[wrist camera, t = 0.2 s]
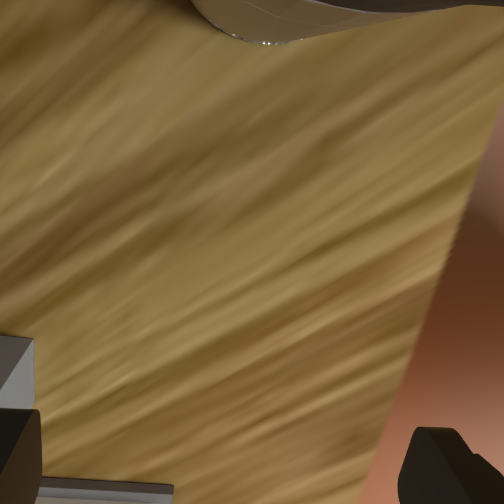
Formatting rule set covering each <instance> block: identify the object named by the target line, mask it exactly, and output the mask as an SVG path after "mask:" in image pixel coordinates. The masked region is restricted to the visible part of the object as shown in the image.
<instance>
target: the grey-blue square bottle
mask: <svg viewBox="0 0 504 504" xmlns="http://www.w3.org/2000/svg"><path fill="white" fill-rule="evenodd" d="M34 401H35V397H34V339H31V338H21V337H11V336H1V335H0V408H14V409H31V407H32V405H33V403H34Z"/></svg>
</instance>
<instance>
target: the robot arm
mask: <svg viewBox="0 0 504 504" xmlns="http://www.w3.org/2000/svg"><path fill="white" fill-rule="evenodd" d="M190 1H191V2H192V3H193V5H194V6H195V8H196V9H197V10H198V12H200V13H201V14H202V15H203V16H204V17H205V18H206V19H207V20H208V21H209V22H210V23H211V24H213V25H214V26H215V27H217V28H218V29H220V30H222V31H224V32H225V33H227V34H229V35H230V36H232V37H235V38H238V39H241V40H244V41H247V42H251V43H259V44H284V43H290V42H294V41H298V40H302V39H305V38H310V37H314V36H319V35H324V34H329V33H334V32H338V31H343V30H348V29H353V28H358V27H362V26H367V25H371V24H375V23H380V22H385V21H390V20H394V19H399V18H404V17H409V16H413V15H418V14H423V13H428V12H432V11H436V10H440V9H446V8H451V7H456V6H461V5H470V4H471V5H486V6H501V7H504V0H190ZM41 477H42V445H41V421H40V413H39V411H38V410H37V409H14V408H0V504H35V501H36V498H37V495H38V491H39V487H40V483H41ZM398 497H399V502H400V504H504V477H503V475H502V474H501V473H500V472H499V471H498V470H497V469H495V468H494V467H493V466H492V465H491V464H490V463H489V462H487V461H486V460H485V459H484V458H483V457H481V456H480V455H479V454H473V453H472V451H471V450H470V449H469V447H468V446H467V444H466V443H465V441H464V440H463V439H462V437H461V436H460V434H459V433H458V432H457V431H456V430H454V429H453V428H443V427H417V428H416V429H415V431H414V433H413V435H412V438H411V442H410V444H409V447H408V450H407V453H406V456H405V459H404V462H403V465H402V468H401V471H400V474H399V477H398Z"/></svg>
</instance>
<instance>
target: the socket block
mask: <svg viewBox="0 0 504 504" xmlns="http://www.w3.org/2000/svg"><path fill="white" fill-rule="evenodd" d="M173 490H174V485H161V484H145V483H128V482H112V481H95V480H79V479H62V478H46V477H41V483H40V487H39V491H38V495H37V498H36V501H35V504H172V498H173Z"/></svg>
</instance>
